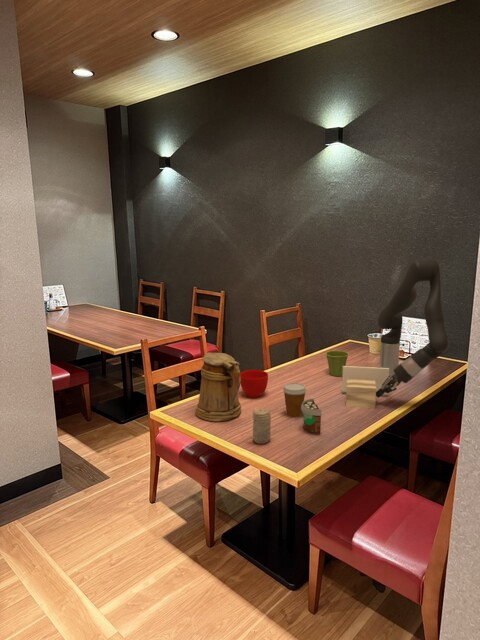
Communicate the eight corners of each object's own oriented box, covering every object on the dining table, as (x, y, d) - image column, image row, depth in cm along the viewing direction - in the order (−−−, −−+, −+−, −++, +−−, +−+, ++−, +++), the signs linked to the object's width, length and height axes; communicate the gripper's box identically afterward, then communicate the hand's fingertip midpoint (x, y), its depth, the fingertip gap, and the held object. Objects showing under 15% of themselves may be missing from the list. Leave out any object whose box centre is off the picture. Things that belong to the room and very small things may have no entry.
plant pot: (347, 371, 242) (348, 350, 240) (348, 378, 230) (349, 357, 228) (324, 370, 244) (325, 349, 242) (324, 377, 233) (325, 356, 230)
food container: (297, 422, 181) (298, 398, 179) (313, 421, 182) (313, 397, 179) (304, 436, 169) (305, 411, 167) (321, 435, 170) (321, 410, 167)
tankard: (219, 401, 204) (218, 347, 199) (258, 416, 188) (257, 357, 182) (187, 413, 192) (185, 355, 187) (225, 430, 175) (223, 368, 170)
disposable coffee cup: (308, 410, 192) (308, 383, 190) (303, 420, 183) (303, 391, 181) (285, 408, 195) (285, 381, 193) (280, 417, 186) (280, 389, 184)
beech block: (346, 397, 206) (346, 378, 204) (374, 399, 203) (375, 380, 201) (345, 406, 196) (346, 386, 194) (375, 408, 193) (376, 388, 191)
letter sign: (342, 389, 216) (342, 363, 213) (386, 392, 211) (388, 365, 208) (342, 394, 210) (342, 366, 207) (387, 397, 205) (389, 369, 203)
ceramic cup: (275, 389, 217) (275, 369, 215) (261, 402, 202) (261, 380, 200) (250, 385, 223) (250, 366, 221) (235, 397, 208) (234, 376, 206)
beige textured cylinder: (250, 444, 164) (249, 412, 162) (256, 435, 171) (256, 404, 168) (267, 446, 162) (266, 415, 159) (273, 437, 169) (273, 407, 166)
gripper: (399, 358, 198) (369, 384, 204) (403, 368, 186) (371, 395, 191) (412, 371, 198) (381, 396, 204) (416, 381, 186) (383, 407, 191)
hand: (376, 395), depth 197 cm, fingers closed
